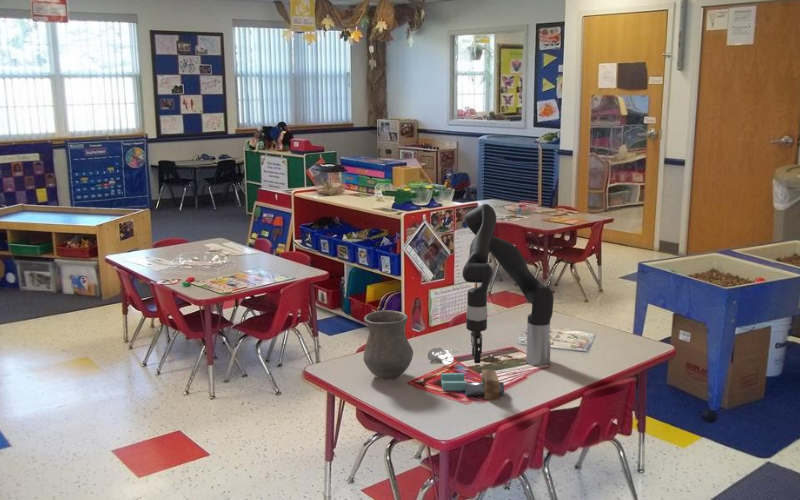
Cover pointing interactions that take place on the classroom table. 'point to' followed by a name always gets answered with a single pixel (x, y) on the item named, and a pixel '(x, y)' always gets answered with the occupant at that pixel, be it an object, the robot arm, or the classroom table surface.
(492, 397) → the brown notched block
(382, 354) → the vase
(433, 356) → the figurine
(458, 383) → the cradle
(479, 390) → the axle
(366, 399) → the classroom table surface
